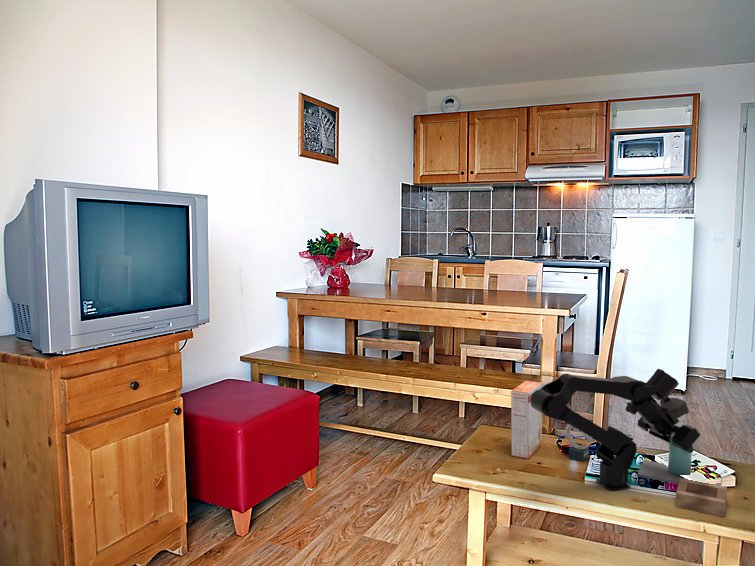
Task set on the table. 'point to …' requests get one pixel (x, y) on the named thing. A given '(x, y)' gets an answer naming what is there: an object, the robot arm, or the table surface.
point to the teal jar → (679, 460)
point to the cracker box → (525, 421)
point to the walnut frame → (701, 497)
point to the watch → (578, 447)
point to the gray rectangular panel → (659, 472)
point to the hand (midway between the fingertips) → (684, 447)
